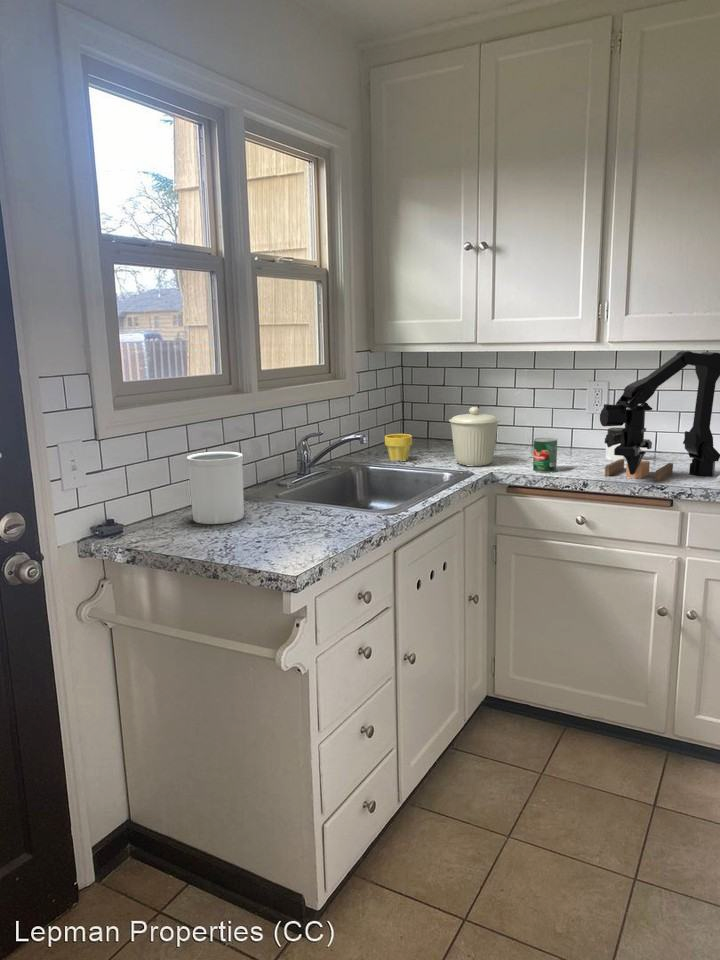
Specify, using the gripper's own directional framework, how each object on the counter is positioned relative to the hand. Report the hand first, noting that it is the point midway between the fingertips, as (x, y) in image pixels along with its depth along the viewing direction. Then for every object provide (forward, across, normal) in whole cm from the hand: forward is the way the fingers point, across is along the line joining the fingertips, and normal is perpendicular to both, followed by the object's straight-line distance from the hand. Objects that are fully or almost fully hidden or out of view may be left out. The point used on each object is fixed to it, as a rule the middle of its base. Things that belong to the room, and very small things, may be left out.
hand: (632, 474), depth 228 cm
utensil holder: (+3, +100, -81) cm, 128 cm away
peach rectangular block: (+2, -6, 0) cm, 6 cm away
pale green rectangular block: (+1, -15, 0) cm, 15 cm away
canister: (+3, -4, -58) cm, 58 cm away
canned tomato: (+3, -5, -31) cm, 32 cm away
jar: (+3, -33, -15) cm, 36 cm away
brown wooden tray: (+3, -7, 0) cm, 8 cm away
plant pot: (+3, +4, -86) cm, 86 cm away
